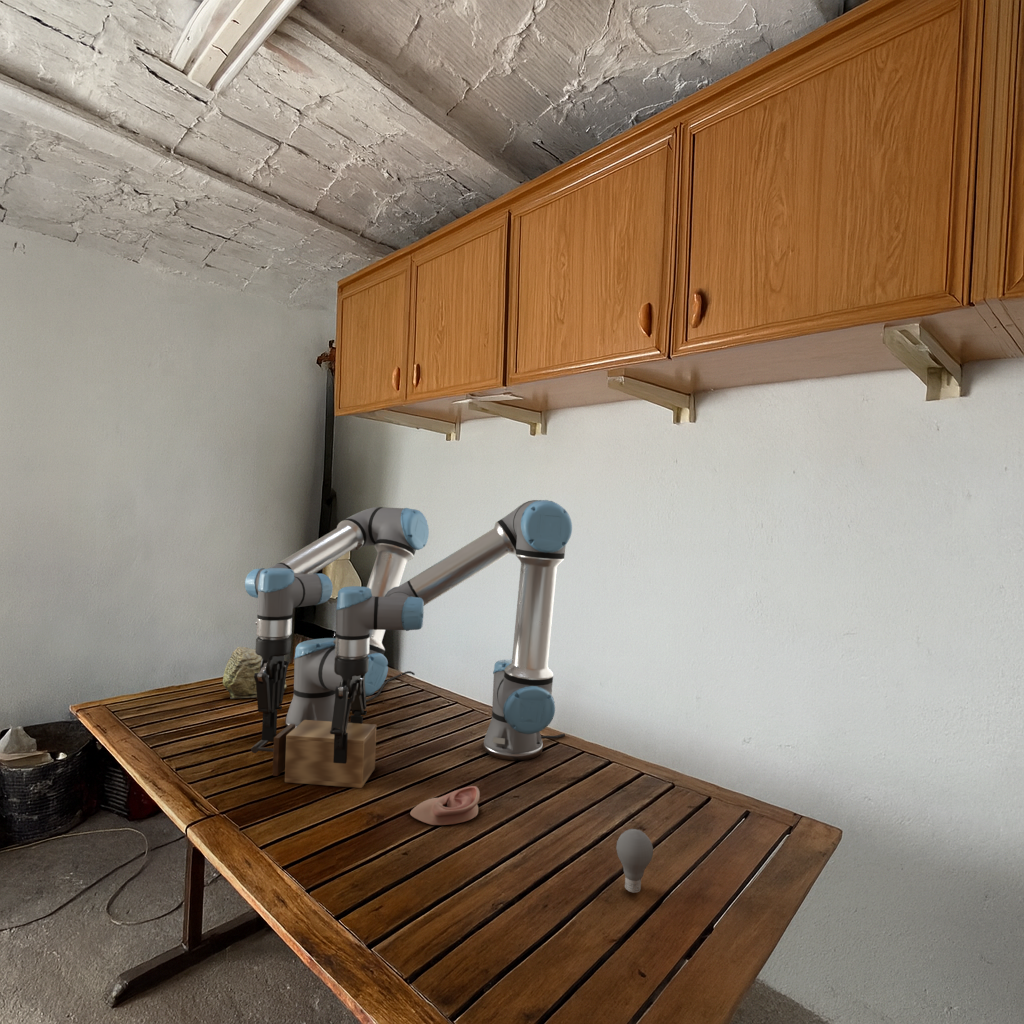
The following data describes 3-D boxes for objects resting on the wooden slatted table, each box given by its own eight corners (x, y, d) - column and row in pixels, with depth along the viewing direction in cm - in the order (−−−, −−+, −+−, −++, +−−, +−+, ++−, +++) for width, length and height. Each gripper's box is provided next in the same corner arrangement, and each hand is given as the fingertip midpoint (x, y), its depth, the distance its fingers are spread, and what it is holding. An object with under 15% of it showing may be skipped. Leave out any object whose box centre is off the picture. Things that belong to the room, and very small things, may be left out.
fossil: (218, 695, 195) (220, 647, 195) (278, 685, 208) (279, 640, 207) (228, 703, 189) (230, 653, 188) (289, 692, 201) (290, 645, 201)
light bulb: (610, 879, 108) (613, 822, 108) (644, 879, 109) (647, 822, 109) (619, 902, 102) (622, 840, 102) (655, 901, 103) (658, 840, 103)
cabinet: (284, 782, 140) (286, 735, 140) (302, 763, 150) (304, 719, 150) (361, 788, 138) (363, 740, 138) (374, 768, 149) (376, 724, 148)
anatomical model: (405, 801, 125) (424, 776, 136) (404, 821, 125) (423, 795, 136) (470, 810, 122) (484, 785, 133) (469, 831, 122) (483, 803, 133)
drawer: (247, 774, 141) (248, 735, 141) (265, 758, 150) (267, 721, 150) (343, 781, 139) (345, 742, 139) (356, 764, 148) (357, 728, 148)
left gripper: (270, 630, 151) (265, 728, 151) (243, 641, 138) (238, 748, 138) (301, 632, 151) (296, 730, 151) (277, 643, 138) (272, 751, 138)
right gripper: (351, 643, 155) (348, 733, 155) (316, 667, 132) (312, 772, 133) (381, 645, 154) (378, 735, 155) (352, 669, 132) (347, 775, 132)
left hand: (268, 739), depth 145 cm, fingers closed
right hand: (348, 752), depth 144 cm, fingers closed on cabinet, 10 cm apart
